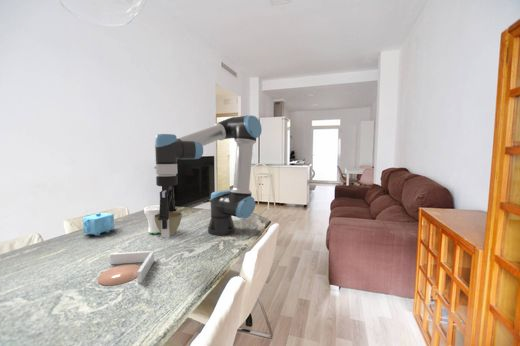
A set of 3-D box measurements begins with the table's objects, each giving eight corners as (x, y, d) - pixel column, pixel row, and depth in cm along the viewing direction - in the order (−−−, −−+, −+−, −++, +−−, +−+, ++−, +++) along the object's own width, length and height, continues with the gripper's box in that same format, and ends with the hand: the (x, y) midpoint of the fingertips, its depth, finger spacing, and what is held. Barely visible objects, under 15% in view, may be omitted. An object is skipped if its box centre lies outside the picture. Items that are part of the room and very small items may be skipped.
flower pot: (187, 230, 93) (187, 212, 92) (170, 238, 83) (169, 219, 83) (167, 227, 96) (166, 210, 95) (148, 235, 87) (147, 216, 86)
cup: (167, 228, 136) (166, 204, 134) (166, 234, 125) (165, 209, 124) (146, 230, 132) (145, 206, 131) (143, 237, 122) (142, 210, 120)
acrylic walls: (154, 259, 96) (154, 250, 96) (141, 282, 79) (140, 271, 79) (112, 262, 93) (111, 253, 93) (88, 287, 76) (88, 275, 76)
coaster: (147, 263, 92) (147, 262, 92) (134, 283, 79) (134, 282, 79) (108, 266, 90) (108, 265, 90) (89, 287, 76) (89, 286, 76)
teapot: (96, 239, 117) (94, 218, 116) (72, 235, 124) (71, 214, 123) (123, 230, 132) (122, 210, 131) (101, 226, 138) (100, 208, 137)
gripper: (163, 172, 98) (164, 223, 100) (147, 178, 76) (150, 243, 78) (181, 172, 99) (182, 222, 101) (171, 178, 77) (173, 242, 79)
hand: (168, 232), depth 90 cm, fingers closed on flower pot, 10 cm apart
